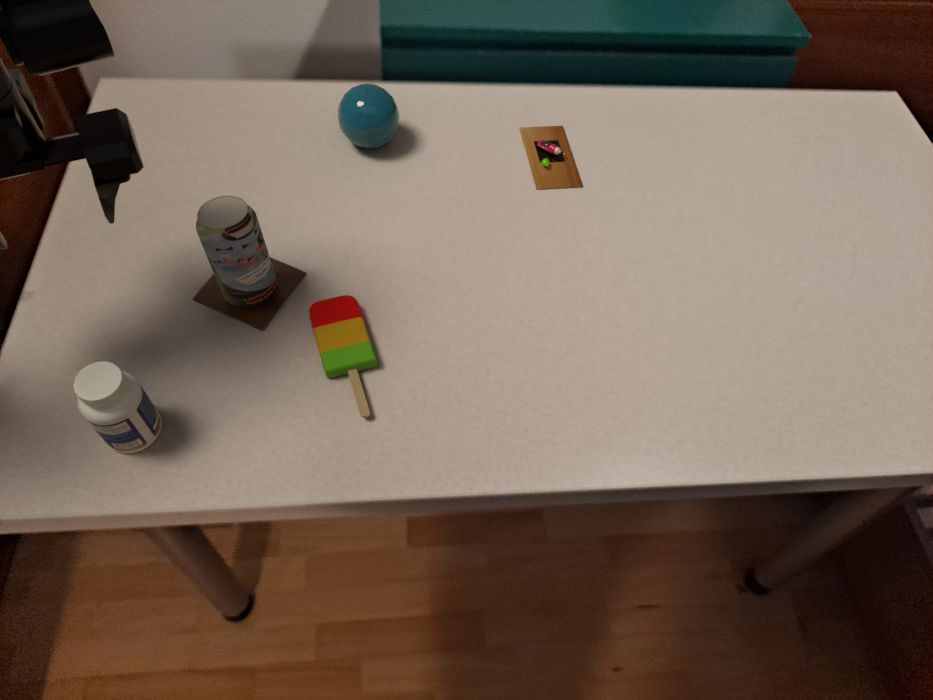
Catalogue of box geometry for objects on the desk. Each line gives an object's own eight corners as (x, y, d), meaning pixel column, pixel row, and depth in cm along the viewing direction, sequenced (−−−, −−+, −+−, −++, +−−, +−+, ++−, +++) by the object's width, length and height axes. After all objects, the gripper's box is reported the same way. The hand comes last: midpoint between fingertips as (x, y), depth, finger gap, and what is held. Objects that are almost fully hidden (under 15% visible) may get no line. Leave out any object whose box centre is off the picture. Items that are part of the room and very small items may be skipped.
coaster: (262, 331, 75) (262, 329, 75) (193, 300, 76) (192, 298, 76) (306, 274, 80) (305, 272, 79) (240, 246, 81) (239, 244, 81)
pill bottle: (134, 396, 69) (98, 344, 61) (174, 422, 68) (144, 372, 60) (92, 437, 67) (49, 388, 59) (134, 464, 66) (96, 418, 57)
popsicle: (355, 300, 78) (354, 290, 76) (392, 413, 71) (392, 404, 69) (307, 311, 77) (305, 301, 75) (339, 427, 69) (338, 419, 68)
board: (536, 189, 90) (538, 181, 89) (519, 128, 96) (520, 119, 95) (582, 187, 91) (585, 178, 90) (562, 126, 97) (564, 118, 96)
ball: (400, 122, 95) (399, 71, 88) (398, 162, 91) (398, 112, 84) (341, 120, 94) (337, 68, 88) (337, 160, 90) (332, 109, 83)
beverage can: (246, 324, 75) (221, 251, 65) (205, 285, 77) (175, 209, 67) (292, 292, 77) (275, 218, 67) (251, 256, 80) (229, 179, 70)
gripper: (88, 7, 57) (147, 153, 70) (-175, 48, 52) (-58, 198, 65) (110, 88, 52) (169, 230, 65) (-180, 143, 46) (-52, 285, 60)
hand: (59, 232), depth 64 cm, fingers open, 9 cm apart
